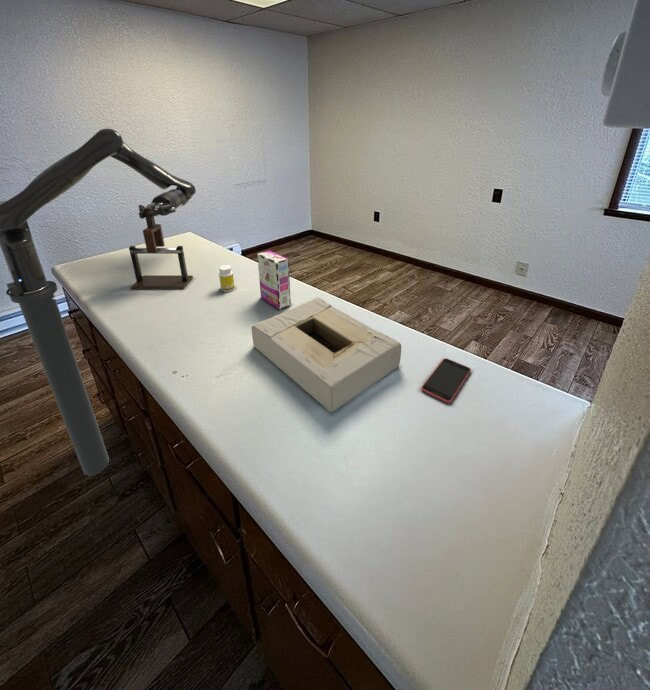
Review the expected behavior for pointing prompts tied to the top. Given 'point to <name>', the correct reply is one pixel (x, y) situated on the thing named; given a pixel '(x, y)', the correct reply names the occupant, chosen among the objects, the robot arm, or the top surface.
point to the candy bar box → (274, 279)
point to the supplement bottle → (226, 278)
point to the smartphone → (446, 380)
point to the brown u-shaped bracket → (152, 234)
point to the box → (326, 351)
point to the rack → (160, 280)
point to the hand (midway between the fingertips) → (144, 215)
